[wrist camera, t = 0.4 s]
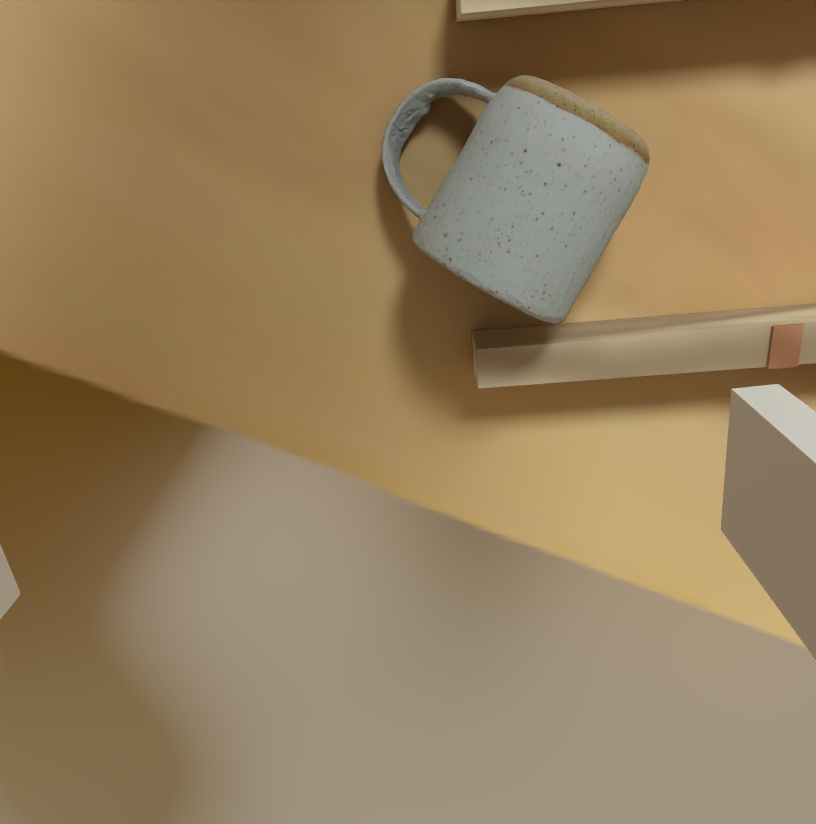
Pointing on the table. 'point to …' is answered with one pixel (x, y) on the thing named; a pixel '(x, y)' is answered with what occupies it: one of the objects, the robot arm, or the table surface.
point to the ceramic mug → (523, 190)
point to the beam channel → (637, 337)
